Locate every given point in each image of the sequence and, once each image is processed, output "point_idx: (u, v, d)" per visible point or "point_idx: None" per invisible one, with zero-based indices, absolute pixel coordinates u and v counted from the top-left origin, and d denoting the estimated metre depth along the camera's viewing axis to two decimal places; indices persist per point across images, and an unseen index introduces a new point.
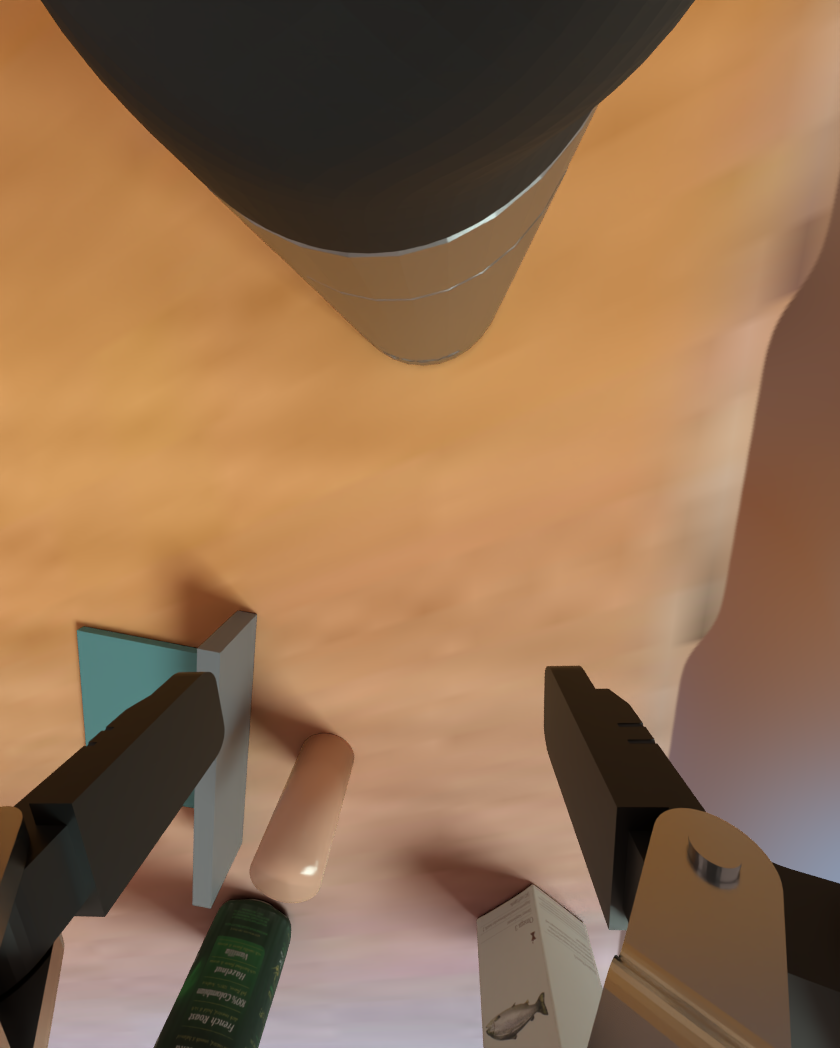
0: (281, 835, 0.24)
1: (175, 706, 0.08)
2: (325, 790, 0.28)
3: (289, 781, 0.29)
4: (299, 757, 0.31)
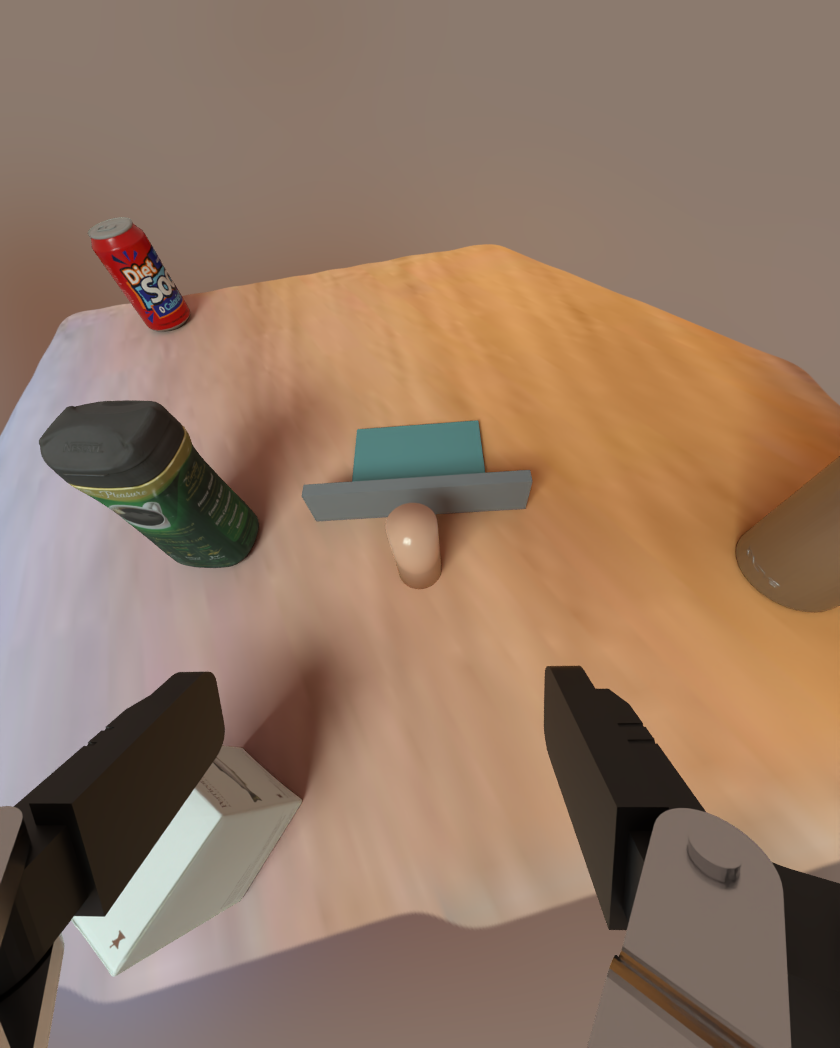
0: None
1: (175, 706, 0.08)
2: (437, 556, 0.37)
3: None
4: None
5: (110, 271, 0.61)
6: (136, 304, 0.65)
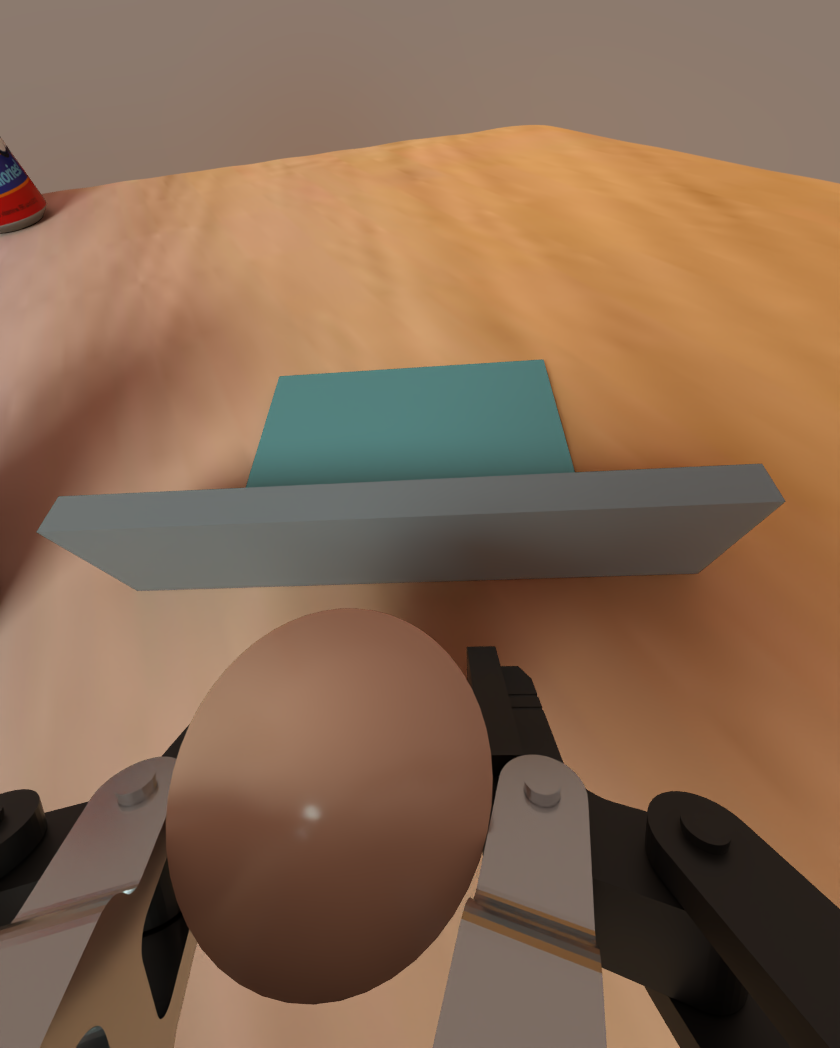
0: None
1: None
2: None
3: None
4: None
5: None
6: None
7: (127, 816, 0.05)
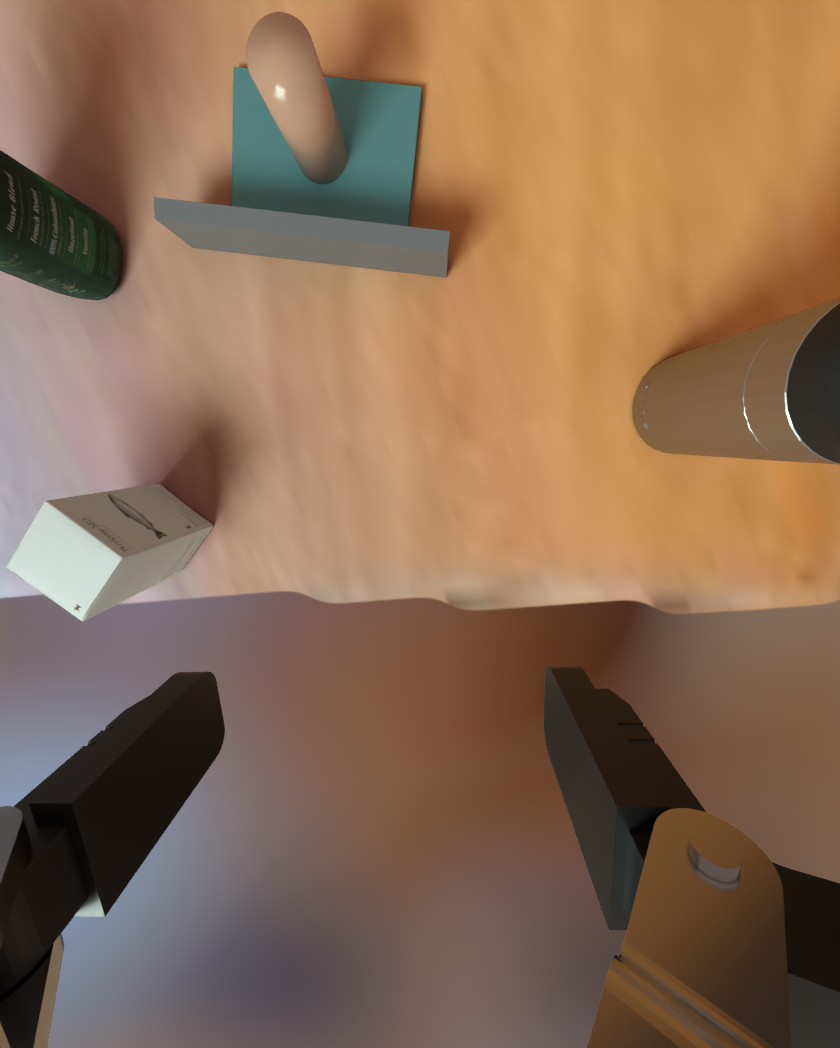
0: (317, 58, 0.26)
1: (175, 706, 0.08)
2: (328, 129, 0.30)
3: None
4: None
5: None
6: None
7: None
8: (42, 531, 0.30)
